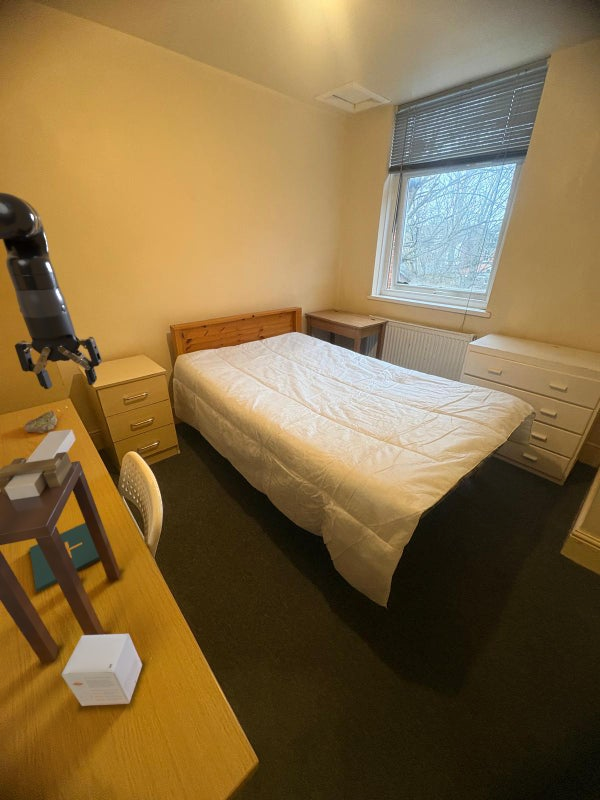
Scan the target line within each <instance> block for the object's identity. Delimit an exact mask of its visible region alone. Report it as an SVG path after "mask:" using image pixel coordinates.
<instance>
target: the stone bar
mask: <svg viewBox="0 0 600 800" xmlns="http://www.w3.org/2000/svg"><path fill="white" fill-rule="evenodd" d="M76 440H77V439H76V436H75V434H74V430H73V429H72V428H71V429H63V430H55V431H53V430H52V431H48V432H47V434H46V436H45V437H44V438H43V439H42V441H41V442H40V443H39V445H38V446H37V447H36V448H35V450H34V451H33V452H32V453H31V454H30V456H29V457H28V458H27V459H26V462H25V463H27V462H34V461H41V460H48V459H53V458H54V457H55V455H56V454H57V453H61V452H67V453H68V452H69V451H70V449H71V448H72V447H73V444H74V443H75V442H76ZM44 472H45V471H43V472H36V473H29V474H23V475H16V476H14V477H13V478H12V479H11V481H10V482H9V483H8V484H7V486H6V487H5V490H6V492H7V494H8V496H9V498H10V500H15V499H21V498H28V497H34V496H40V494H41V493H42V491H43V489H44V488H45V486H46V485H47V481H46V479H45V477H44Z"/></svg>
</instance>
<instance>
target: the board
mask: <svg viewBox="0 0 600 800" xmlns="http://www.w3.org/2000/svg"><path fill="white" fill-rule="evenodd" d="M60 536H61V538H62V540H63V542H64V544H65V547H66V549H67V551H68V553H69V555H70V557H71V560H72V562H73V564H74V566H75V568H76V571H77V572H79V571H81V570H82V569H85V568H87V567H89V566H90V565H93V564H94V563H96V562H98V561H101V560H100V558H99V555H98V553H97V550H96V548H95V545H94V543H93V540H92V538H91V535H90V533H89V530H88V528H87V525H86V523H85V522H83V523H81V524H79V525H77V526H75V527H72V528H70V529H68V530H66V531H63V532H62V533H60ZM29 552H30V559H31V566H32V567H31V568H32V570H33V571H32V572H33V579H34V586H35V590H36V592H37V593H39V592H41V591H43V590H44V589H46V588H49V587H50V586H52V585H54V584H56V583H58V582H57V580H56V578H55V576H54V574H53V572H52V570H51V568H50V567H49V565H48V563H47V561H46V559H45V557H44V555H43V553H42V551H41V549H40V547H39V545H38V543H37V544H35V545H33V546H31V547H29Z"/></svg>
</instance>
